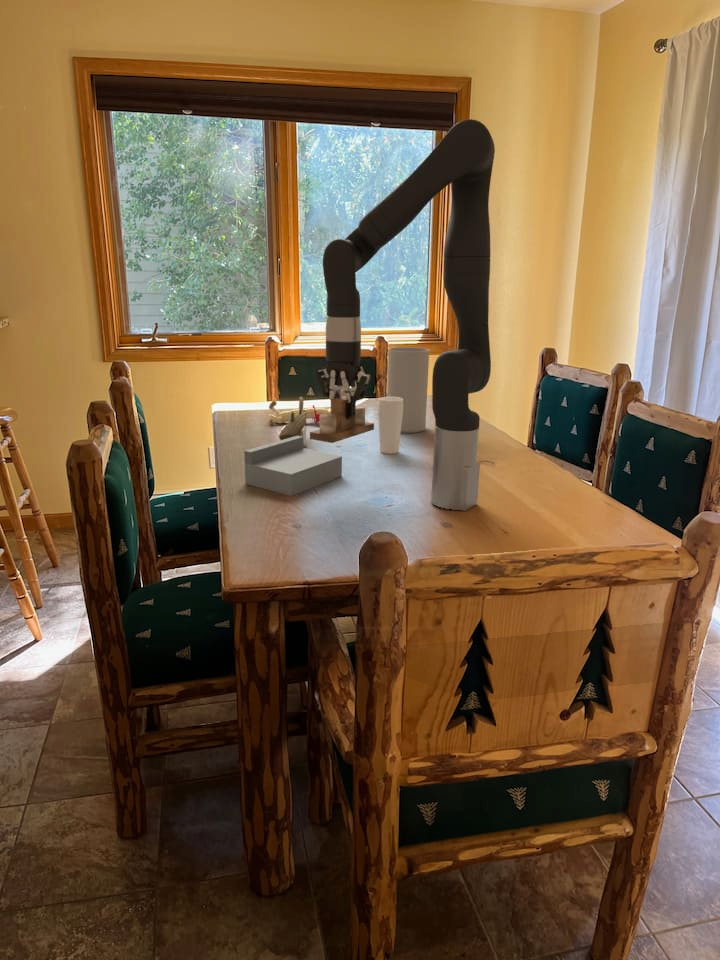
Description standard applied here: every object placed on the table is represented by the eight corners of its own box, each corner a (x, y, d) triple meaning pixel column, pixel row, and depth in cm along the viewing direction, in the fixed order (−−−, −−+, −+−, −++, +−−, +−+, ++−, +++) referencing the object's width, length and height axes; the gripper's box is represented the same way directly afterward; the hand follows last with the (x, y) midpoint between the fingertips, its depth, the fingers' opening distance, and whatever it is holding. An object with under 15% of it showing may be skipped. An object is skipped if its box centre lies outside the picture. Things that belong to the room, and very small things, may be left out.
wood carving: (317, 432, 210) (317, 396, 207) (302, 464, 177) (302, 422, 174) (288, 432, 211) (287, 396, 207) (268, 463, 177) (267, 421, 174)
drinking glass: (399, 456, 187) (401, 401, 182) (375, 454, 188) (376, 400, 183) (403, 449, 193) (405, 397, 188) (379, 448, 194) (380, 395, 190)
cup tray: (352, 426, 160) (352, 392, 158) (373, 429, 157) (374, 394, 155) (309, 438, 148) (309, 402, 145) (332, 443, 144) (332, 405, 142)
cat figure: (270, 431, 217) (348, 424, 220) (268, 404, 214) (347, 397, 218) (270, 424, 227) (344, 417, 230) (267, 398, 224) (343, 391, 227)
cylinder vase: (432, 432, 214) (436, 351, 207) (395, 434, 210) (398, 352, 202) (414, 423, 225) (418, 346, 218) (379, 426, 221) (382, 347, 213)
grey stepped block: (341, 476, 168) (342, 444, 165) (291, 495, 153) (291, 461, 150) (297, 466, 175) (297, 435, 173) (245, 483, 160) (244, 450, 158)
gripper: (380, 339, 145) (378, 419, 150) (327, 335, 153) (327, 411, 158) (360, 341, 140) (359, 425, 145) (306, 337, 147) (307, 416, 152)
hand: (342, 417), depth 151 cm, fingers closed on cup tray, 3 cm apart
